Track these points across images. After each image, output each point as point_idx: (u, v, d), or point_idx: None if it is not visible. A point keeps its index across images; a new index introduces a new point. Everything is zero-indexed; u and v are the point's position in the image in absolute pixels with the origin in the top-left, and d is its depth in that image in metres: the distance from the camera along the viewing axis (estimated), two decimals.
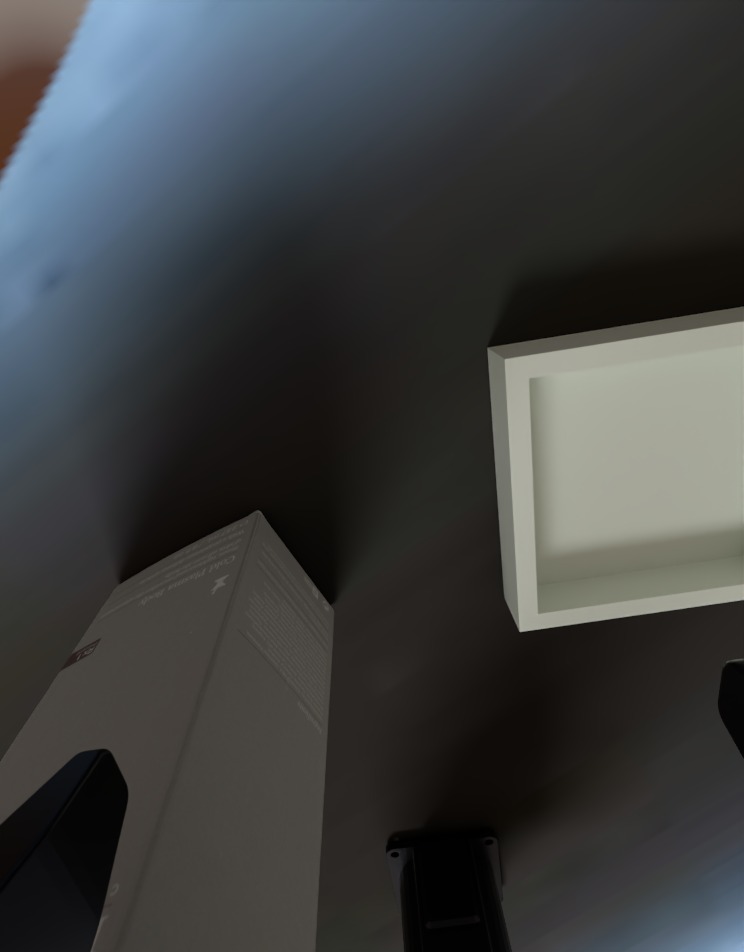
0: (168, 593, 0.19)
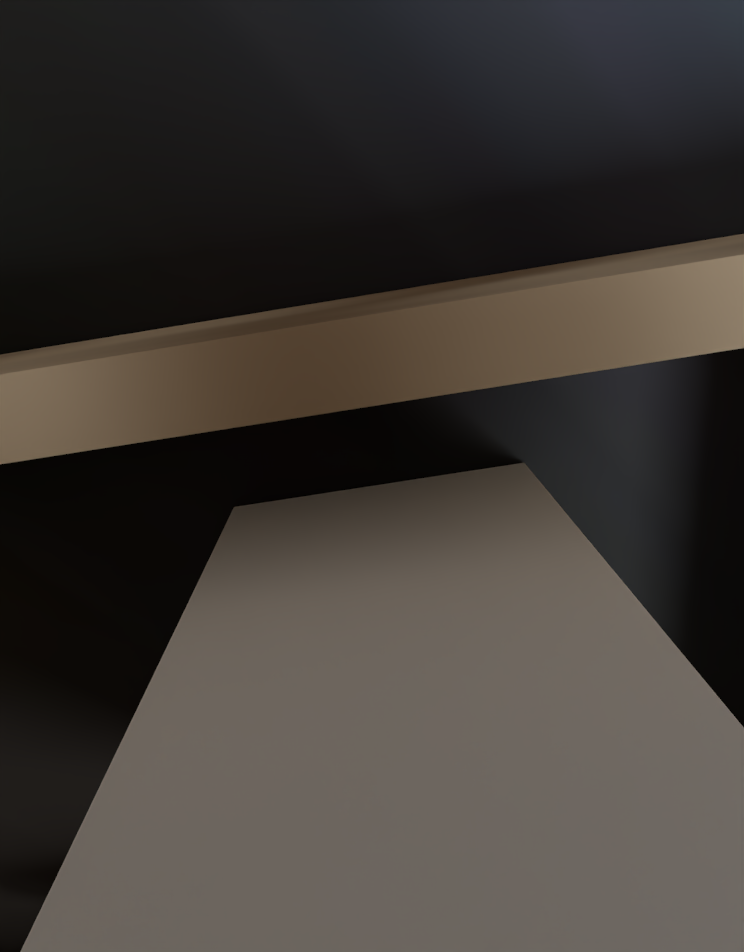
0: None
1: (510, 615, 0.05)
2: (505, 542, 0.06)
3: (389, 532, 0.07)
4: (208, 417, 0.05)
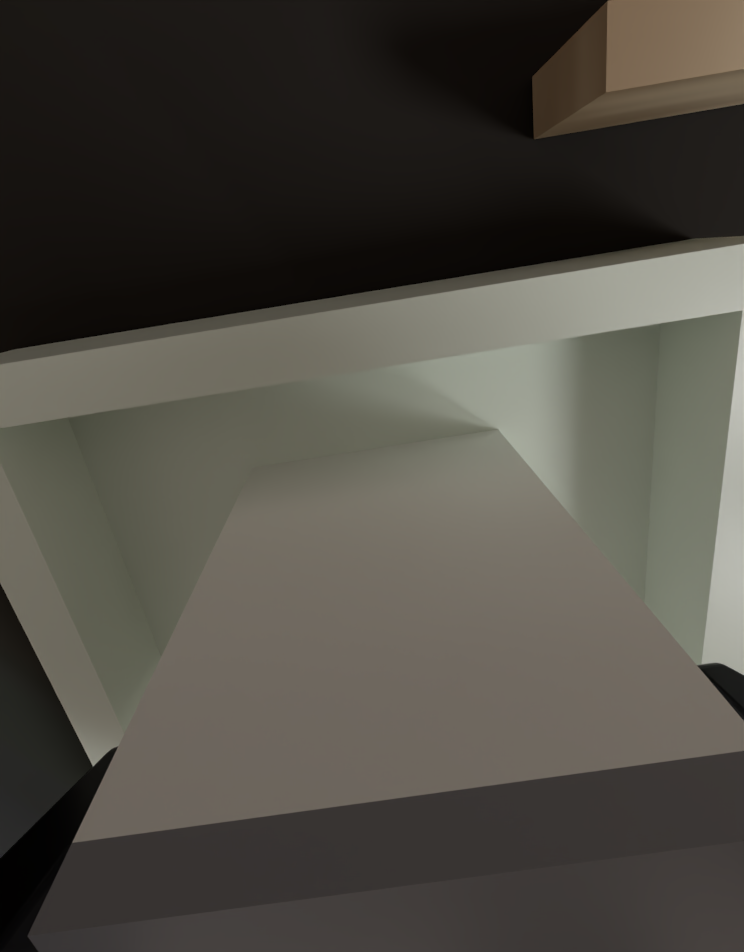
0: None
1: (475, 531, 0.06)
2: (475, 485, 0.07)
3: (383, 481, 0.08)
4: None
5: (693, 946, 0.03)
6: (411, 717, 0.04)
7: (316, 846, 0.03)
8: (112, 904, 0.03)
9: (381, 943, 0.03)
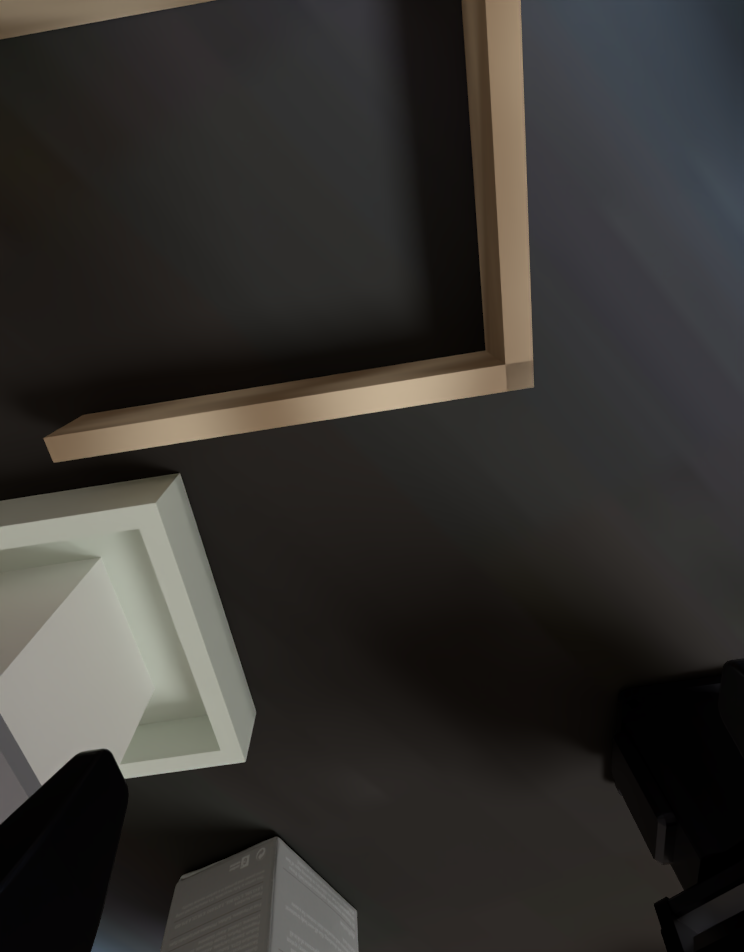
0: None
1: (17, 619, 0.16)
2: (47, 595, 0.17)
3: (21, 589, 0.18)
4: None
5: None
6: None
7: None
8: None
9: None
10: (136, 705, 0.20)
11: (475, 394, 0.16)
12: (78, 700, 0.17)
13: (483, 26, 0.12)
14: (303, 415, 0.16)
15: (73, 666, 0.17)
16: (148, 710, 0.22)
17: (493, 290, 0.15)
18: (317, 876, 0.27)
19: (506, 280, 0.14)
